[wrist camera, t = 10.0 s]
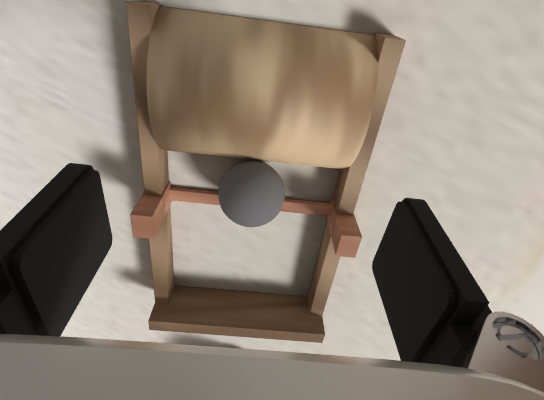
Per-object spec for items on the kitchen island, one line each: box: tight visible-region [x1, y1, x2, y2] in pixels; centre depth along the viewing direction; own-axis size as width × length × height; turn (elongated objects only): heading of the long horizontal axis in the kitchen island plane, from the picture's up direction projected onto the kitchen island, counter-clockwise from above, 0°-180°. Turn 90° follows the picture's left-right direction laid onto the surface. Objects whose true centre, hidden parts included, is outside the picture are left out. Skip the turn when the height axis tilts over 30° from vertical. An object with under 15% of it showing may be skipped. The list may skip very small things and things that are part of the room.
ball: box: [218, 161, 285, 227], centre depth 20 cm, size 4×4×4 cm
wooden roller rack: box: [126, 1, 406, 343], centre depth 23 cm, size 21×13×9 cm, turn 173°
